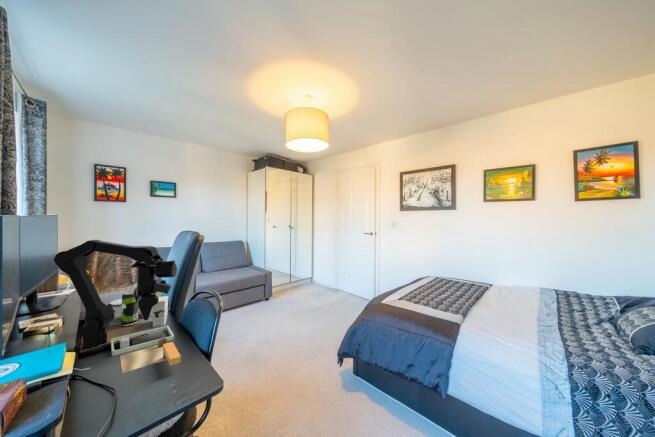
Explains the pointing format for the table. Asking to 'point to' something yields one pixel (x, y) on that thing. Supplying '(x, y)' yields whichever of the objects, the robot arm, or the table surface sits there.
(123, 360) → the tie board
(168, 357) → the bar
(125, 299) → the beverage can
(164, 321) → the ink box
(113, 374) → the table surface
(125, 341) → the lead
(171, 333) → the tray
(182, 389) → the table surface
